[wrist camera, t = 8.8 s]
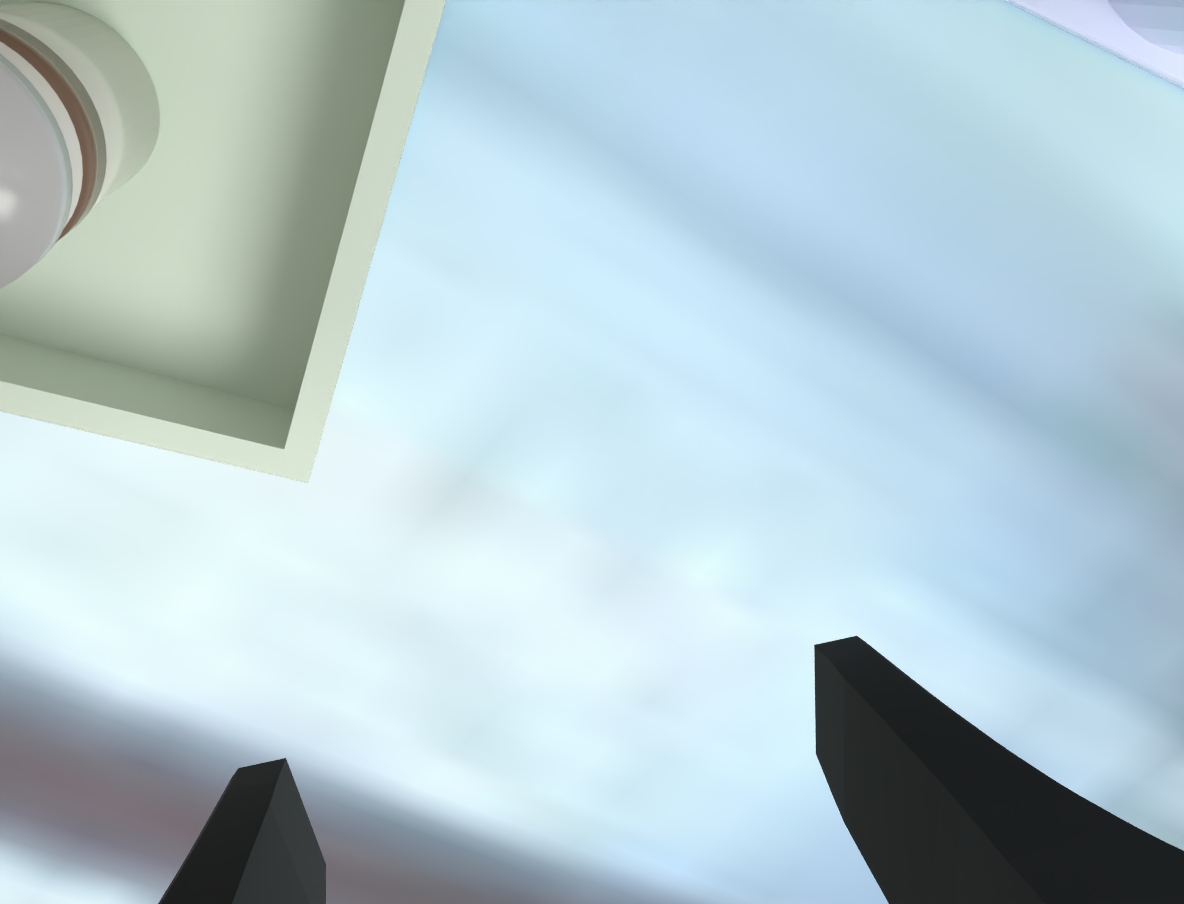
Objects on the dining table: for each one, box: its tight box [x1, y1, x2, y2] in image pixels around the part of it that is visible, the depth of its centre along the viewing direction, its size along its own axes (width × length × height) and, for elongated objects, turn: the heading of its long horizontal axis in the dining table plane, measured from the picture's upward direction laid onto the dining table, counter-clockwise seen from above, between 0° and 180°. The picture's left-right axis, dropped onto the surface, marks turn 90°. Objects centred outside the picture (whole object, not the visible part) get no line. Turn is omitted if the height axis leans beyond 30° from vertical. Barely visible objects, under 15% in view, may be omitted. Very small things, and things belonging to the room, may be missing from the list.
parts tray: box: [0, 0, 446, 483], centre depth 16 cm, size 11×10×2 cm
